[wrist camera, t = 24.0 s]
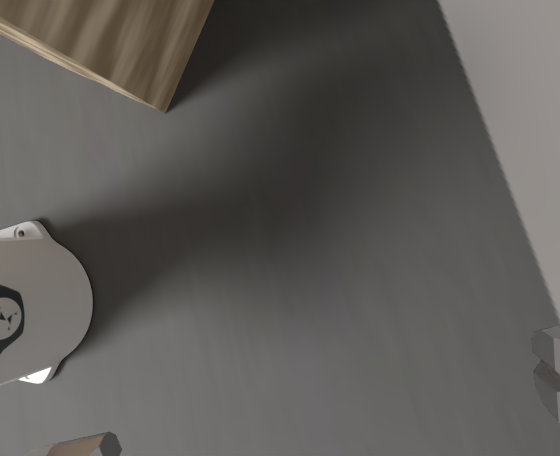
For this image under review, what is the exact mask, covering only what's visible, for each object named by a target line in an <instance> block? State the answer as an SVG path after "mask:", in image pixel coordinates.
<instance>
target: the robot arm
mask: <svg viewBox="0 0 560 456" xmlns="http://www.w3.org/2000/svg"><path fill="white" fill-rule="evenodd" d="M23 232H24V236H23ZM92 309H93V298H92V290H91V286H90V282H89V279H88V276H87V274H86V272H85V270H84V268H83V267H82V265H81V263H80V262H79V261H78V259H77V258H76V257H75V256H74V255H73V254H72V253H71V252H70V251H68V250H67V249H66V248H64V247H63V246H61V245H60V244H58V243H57V242H55V241H54V240H53V239H52V238H51V236H50V235H49V233H48V232H47V230H46V229H45V228H44V226H43V225H42V224H41V223H40V222H38V221H27V222H24V223H20V224H17V225H14V226H11V227H8V228H5V229H2V230H0V386H1V385H4V384H7V383H10V382H12V381H15V380H22V381H26V382H31V383H35V384H41V383H44V382H47V381H49V380H50V379H51V378H52V376H53V375H54V373H55V371H56V369H57V367H58V365H59V363H60V362H61V360H62V359H63V358H64V357H66V356H67V355H68V354H69V353H71V352H72V351H73V350H74V349H75V348H76V347H77V346H78V345H79V343H80V342H81V341H82V339H83V338H84V336H85V334H86V332H87V330H88V327H89V324H90V321H91V316H92ZM531 346H532V352H533V353H534V354H535V355H536V356H537V357H538V358H539V359H540V361H539V363H538V365H537V367H536V368H535V370H534V380H535V387H536V390H537V392H538V395H539V397H540V399H541V402H542V403H543V405H544V406H545V408H546V409H547V410H548V412H549V413H550V414H551V415H552V416H553V417H554V418H555V419H556V420H557V421H558V422H559V423H560V325H557V326H553V327H549V328H545V329H541V330H537V331H534V332H533V335H532V338H531ZM121 450H122V448H121V446H120V444H119V441H118V439H117V437H116V435H115V434H113V433H111V432H106V433H102V434H97V435H92V436H88V437H83V438H78V439H74V440H69V441H65V442H60V443H58V444H51V445H47V446H43V447H39V448H34V449H32V450H30V451H28V452H26V453H25V454H24V455H23V456H119V455H120V453H121Z"/></svg>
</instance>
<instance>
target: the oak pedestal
mask: <svg viewBox="0 0 560 456" xmlns="http://www.w3.org/2000/svg"><path fill="white" fill-rule="evenodd" d="M214 1H215V0H0V34H1V35H3V36H5V37H7V38H9V39H10V40H12V41H14V42H16V43H18V44H20V45H22V46H23V47H25V48H27V49H29V50H31V51H33V52H35V53H36V54H38V55H40V56H42V57H44V58H46V59H48V60H49V61H51V62H54V63H56V64H58V65H60V66H62V67H64V68H67V69H69V70H71V71H73V72H75V73H78V74H80V75H82V76H84V77H86V78H88V79H91V80H93V81H95V82H97V83H99V84H102V85H104V86H106V87H108V88H110V89H112V90H115V91H117V92H119V93H121V94H123V95H126V96H128V97H130V98H132V99H134V100H136V101H139V102H141V103H143V104H145V105H147V106H150V107H152V108H154V109H156V110H158V111H160V112H163V113H166V111H167V108H168V106H169V104H170V102H171V99H172V97H173V95H174V92H175V90H176V88H177V85H178V83H179V81H180V79H181V76H182V74H183V72H184V69H185V67H186V65H187V63H188V60H189V58H190V56H191V53H192V51H193V49H194V46H195V44H196V42H197V40H198V37H199V35H200V33H201V30H202V28H203V26H204V24H205V21H206V19H207V17H208V14H209V12H210V10H211V7H212V5H213V3H214Z"/></svg>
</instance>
